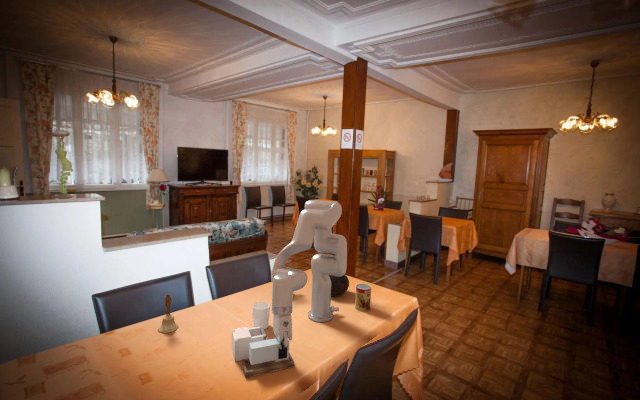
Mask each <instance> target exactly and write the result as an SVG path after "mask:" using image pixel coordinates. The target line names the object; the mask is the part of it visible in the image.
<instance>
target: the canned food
mask: <svg viewBox="0 0 640 400" xmlns="http://www.w3.org/2000/svg"><path fill="white" fill-rule="evenodd" d="M371 296H372V286H371V285H369V284H366V283H358V284H356V287H355V304H354V305H355V306H354V307H355V309H356V310H357V311H360V312H369V311H370V310H371V298H372V297H371Z"/></svg>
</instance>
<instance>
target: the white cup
mask: <svg viewBox="0 0 640 400" xmlns="http://www.w3.org/2000/svg"><path fill="white" fill-rule="evenodd" d="M270 309H271V305H270V303H269V302H266V301H260V302H255V303H253V304H252V322H253V327H259V326H262V327H263V329H264V330H267V329H268V328H269V321H270V312H271V311H270Z"/></svg>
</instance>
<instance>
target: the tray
mask: <svg viewBox="0 0 640 400" xmlns="http://www.w3.org/2000/svg"><path fill="white" fill-rule="evenodd" d="M240 361H241V362H240V365H241V368H242V371H243V375H244V379H246V378H250V377H254V376H255V377H256V376H260V375H263V374H268V373H273V372H277V371H280V370H281V371H282V370H284V369H291V368H293V367H295V360H294V358H293V357H292V354H291V353H290V352H289V357H287V358H283V359H278V360H273V361H268V362H263V363H259V364H254V365H251V363H250V360H249V358H247V359H242V360H240Z"/></svg>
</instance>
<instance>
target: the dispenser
mask: <svg viewBox="0 0 640 400" xmlns="http://www.w3.org/2000/svg"><path fill="white" fill-rule="evenodd" d="M267 338H268V337H267V333H266V331H265V329H263V327H262V326H259V327H254V326H253V327H248V326H243V327H236V328H234V330H232V331H231V352H232V356H233V361H234V362H239V361H241V360H242V359H247V358H249V343H253V342H258V341H264V340H268V339H267Z"/></svg>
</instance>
